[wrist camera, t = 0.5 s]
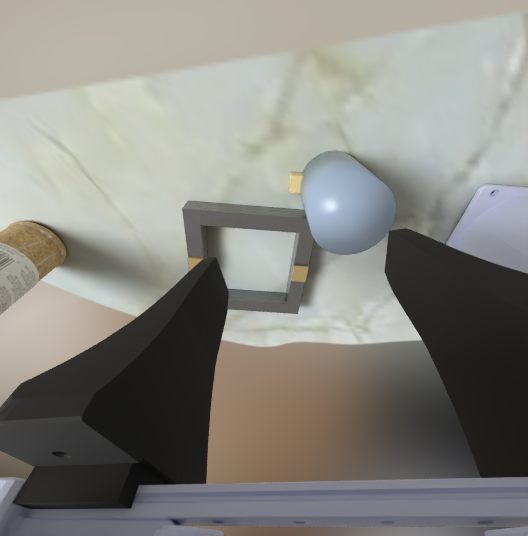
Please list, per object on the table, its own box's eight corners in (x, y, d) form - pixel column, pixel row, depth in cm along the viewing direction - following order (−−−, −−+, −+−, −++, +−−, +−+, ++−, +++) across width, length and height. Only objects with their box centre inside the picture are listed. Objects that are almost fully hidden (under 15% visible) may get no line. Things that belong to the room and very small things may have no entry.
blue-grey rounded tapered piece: (380, 154, 17) (425, 181, 12) (360, 215, 19) (390, 258, 14) (294, 147, 16) (304, 171, 12) (285, 209, 19) (291, 250, 14)
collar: (315, 210, 19) (319, 220, 18) (296, 302, 25) (297, 315, 23) (187, 200, 19) (181, 209, 17) (198, 296, 25) (194, 308, 23)
